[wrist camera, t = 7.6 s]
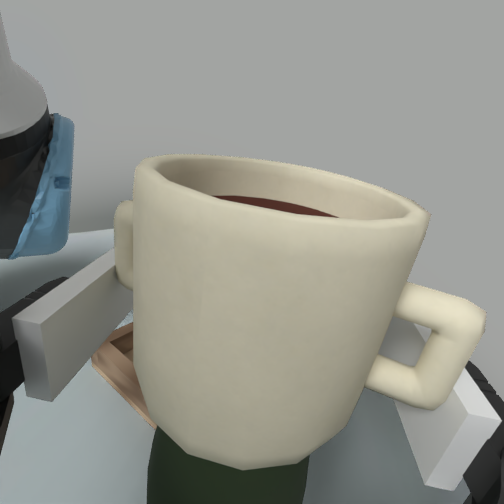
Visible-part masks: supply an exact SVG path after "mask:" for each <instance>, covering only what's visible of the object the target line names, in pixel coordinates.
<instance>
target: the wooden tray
mask: <svg viewBox="0 0 504 504" xmlns="http://www.w3.org/2000/svg"><path fill="white" fill-rule="evenodd" d="M91 360H92V366H93V367H94V368H95V369H96V370H97V371H98V372H99V373H100V374H101V375H102V377H103V378H104V379H105V380H106V381H107V382H108V383H109V384H110V385H111V386H112V387H113V388H114V389H115V390H116V391H117V392H118V393H119V394H120V395H121V396H122V397H123V398H124V399H125V400H126V401H127V402H128V403H129V404H130V405H131V406H132V407H133V408H134V409H135V410H136V411H137V412H138V413H139V414H140V415H141V416H142V417H143V418H144V419H145V420H146V421H147V422H148V423H149V424H150V425H151V426H152V427H153V428H154V429H155V430H156V428H157V424H156V423H155V422H154V421H153V420H152V419H151V418H150V415H149V412H148V409H147V406H146V402H145V399H144V396H143V393H142V390H141V387H140V384H139V381H138V378H137V375H136V371H135V368H134V365H133V322H132V323H129V324H127V325H125V326H123V327H121V328H119V329H116V330H114V331H113V332H112V333H111V334H110V335H109V337H108V338H107V339H106V340H105V341H104V342H103V344H102V345H101V346H100V347H99V348H98V349H97V350H96V352H95V353H94V354H93V355H92V356H91Z"/></svg>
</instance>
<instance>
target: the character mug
mask: <svg viewBox="0 0 504 504" xmlns="http://www.w3.org/2000/svg"><path fill="white" fill-rule="evenodd" d="M430 217H431V214H430V213H429V212H428V211H426V210H425V209H424V208H422V207H421V206H420V205H418V204H417V203H416V202H414V201H413V200H410V199H408V198H406V197H403V196H401V195H399V194H396V193H394V192H392V191H389V190H387V189H384V188H381V187H378V186H375V185H372V184H369V183H366V182H363V181H360V180H356V179H353V178H350V177H347V176H343V175H339V174H335V173H331V172H327V171H323V170H319V169H314V168H310V167H305V166H299V165H294V164H288V163H281V162H275V161H268V160H260V159H252V158H244V157H231V156H216V155H204V154H167V155H161V156H156V157H150V158H144V159H143V160H142V161H141V163H140V164H139V165H138V166H137V167H136V168H135V178H134V188H133V200H129V201H122V202H121V203H120V204H119V206H118V207H117V209H116V213H115V216H114V246H115V272H116V275H117V279H118V282H119V283H120V284H122V285H123V286H124V287H125V288H127V289H129V290H131V291H133V365H134V368H135V371H136V375H137V378H138V381H139V384H140V387H141V390H142V393H143V396H144V399H145V402H146V406H147V409H148V412H149V415H150V418H151V419H152V420H153V421H154V422H155V423H156V424H157V428H156V431H155V435H154V439H153V444H152V449H151V455H150V460H149V466H148V479H147V504H302V502H303V497H304V492H305V487H306V479H307V471H308V463H309V455H310V454H311V453H312V452H314V451H315V450H316V449H318V448H319V447H321V446H322V445H323V444H325V443H326V442H328V441H329V440H330V439H332V438H333V437H334V436H335V435H336V434H338V433H339V432H340V431H341V430H342V429H343V428H345V427H346V426H347V423H348V421H349V419H350V417H351V415H352V413H353V410H354V408H355V406H356V404H357V402H358V400H359V397H360V395H361V393H362V391H363V388H364V387H366V388H368V389H370V390H373V391H375V392H378V393H380V394H383V395H385V396H387V397H390V398H392V399H395V400H397V401H400V402H402V403H404V404H407V405H409V406H412V407H414V408H420V409H426V410H432V411H433V410H435V409H436V408H437V407H439V406H440V405H441V404H443V403H444V402H445V401H446V400H447V398H448V396H449V394H450V392H451V391H452V389H453V387H454V385H455V384H456V382H457V380H458V378H459V376H460V375H461V373H462V371H463V369H464V368H465V366H466V364H467V362H468V360H469V359H470V357H471V355H472V353H473V351H474V350H475V348H476V346H477V344H478V342H479V341H480V339H481V337H482V335H483V333H484V332H485V323H486V311H484V310H482V309H481V308H479V307H478V306H476V305H475V304H473V303H472V302H470V301H469V300H467V299H464V298H460V297H457V296H454V295H450V294H447V293H443V292H440V291H437V290H433V289H430V288H427V287H423V286H420V285H417V284H413V283H410V282H407V279H408V277H409V274H410V272H411V269H412V267H413V264H414V262H415V259H416V257H417V254H418V251H419V249H420V247H421V245H422V242H423V240H424V237H425V234H426V230H427V227H428V224H429V220H430ZM393 316H394V317H397V318H400V319H403V320H406V321H409V322H412V323H415V324H418V325H421V326H424V327H427V328H430V329H431V334H430V336H429V338H428V340H427V342H426V345H425V347H424V349H423V351H422V353H421V355H420V357H419V359H418V361H417V363H416V366H409V365H406V364H403V363H401V362H398V361H396V360H393V359H390V358H388V357H385V356H382V355H380V354H378V352H379V349H380V347H381V344H382V342H383V339H384V337H385V334H386V332H387V329H388V327H389V324H390V322H391V319H392V317H393Z"/></svg>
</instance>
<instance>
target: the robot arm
mask: <svg viewBox="0 0 504 504" xmlns="http://www.w3.org/2000/svg"><path fill="white" fill-rule="evenodd" d="M73 147H74V123H73V122H72V121H71V120H70V119H68V118H66V117H63V116H61V115H59V114H58V113H54V114H49V111H48V105H47V99H46V96H45V92H44V90H43V87H42V86H41V85H40V83H39V82H38V81H37V80H36V79H35V78H34V77H33V76H32V75H30V74H29V73H28V72H26V71H25V70H24V69H22V68H21V67H20V66H19V65H17V64H16V63H15V62H13V61H12V59H11V56H10V52H9V48H8V43H7V39H6V35H5V31H4V27H3V22H2V18H1V14H0V259H16V258H18V257H24V256H36V255H48V254H52V253H55V252H57V251H59V250H61V249H62V248H63V247H64V246H65V244H66V242H67V240H68V233H69V218H70V202H71V185H72V165H73ZM132 309H133V291H131V290H129V289H127V288H125V287H124V286H123V285H122V284H120V283H119V282H118V279H117V275H116V272H115V247H113V248H112V249H111V250H109V251H108V252H106V253H105V254H103V255H102V256H100V257H99V258H98V259H96V260H95V261H93V262H92V263H90V264H89V265H87V266H86V267H85V268H83V269H82V270H80V271H79V272H77V273H76V274H74V275H73V276H72V277H70V278H67V277H61V278H59V279H56V280H53V281H50V282H48V283H46V284H44V285H43V286H41V287H40V288H38V289H37V290H35V292H32V293H31V294H29V295H28V296H26V297H25V299H21V300H20V301H18V302H17V303H15V304H14V305H12V306H11V307H9V308H7V309H6V310H4V311H3V312H1V313H0V454H1V450H2V447H3V443H4V439H5V435H6V431H7V428H8V424H9V420H10V416H11V412H12V409H13V405H14V396H13V391H14V390H15V389H16V388H18V387H19V386H20V385H21V384H22V383H23V382H24V384H25V390H26V395H27V397H32V398H36V399H41V400H45V401H50V402H52V401H53V400H54V399H55V398H56V397H57V396H58V394H59V393H60V392H61V391H62V390H63V389H64V388H65V386H66V385H67V384H68V383H69V382H70V381H71V379H72V378H73V377H74V376H75V375H76V374H77V372H78V371H79V370H80V369H81V368H82V367H83V366H84V364H85V363H86V362H87V361H88V360H89V359H90V357H91V356H92V355H93V354H94V353H95V352H96V350H97V349H98V348H99V347H100V346H101V345H102V344H103V342H104V341H105V340H106V339H107V338H108V337H109V335H110V334H111V333H112V332H113V331H114V330H115V328H116V327H117V326H118V325H119V324H120V323H121V322H122V320H123V319H124V318H125V317H126V316H127V315H128V313H129V312H130V311H131V310H132ZM430 334H431V329H430V328H427V327H424V326H421V325H418V324H415V323H412V322H409V321H406V320H403V319H400V318H397V317H394V316H393V317H392V319H391V322H390V324H389V327H388V329H387V332H386V334H385V337H384V339H383V342H382V344H381V347H380V349H379V352H378V354H380V355H382V356H385V357H388V358H390V359H393V360H396V361H398V362H401V363H403V364H406V365H409V366H416V363H417V361H418V359H419V357H420V355H421V353H422V351H423V349H424V347H425V345H426V342H427V340H428V338H429V336H430ZM393 400H394V403H395V405H396V408H397V411H398V414H399V416H400V419H401V422H402V425H403V427H404V430H405V433H406V436H407V438H408V441H409V444H410V446H411V449H412V452H413V455H414V457H415V460H416V463H417V466H418V468H419V471H420V474H421V477H422V479H423V482H424V485H427V486H431V487H436V488H440V489H445V490H449V491H454V490H455V488H456V487H457V485H458V484H459V483H460V481H461V480H462V478H463V477H464V479H465V482H466V484H467V486H468V488H469V490H470V492H471V493H470V495H469V496H468V497H467V499H466V500H465V502H464V503H463V504H504V402H503V401H502V399H501V398H500V397H499V395H496V391H495V390H494V389H493V387H492V386H491V385H490V384H488V381H487V379H486V378H485V377H484V375H483V374H482V373H481V371H480V370H479V369H478V368H477V367H476V366H475V365H474V364H472V363H471V362H470V361H469V360H468V362H467V364H466V366H465V368H464V369H463V371H462V373H461V375H460V376H459V378H458V380H457V382H456V384H455V385H454V387H453V389H452V391H451V392H450V394H449V396H448V398H447V400H446V401H445V402H444V403H443V404H441V405H440V406H439V407H437V408H436V409H435V410H433V411H432V410H426V409H420V408H414V407H412V406H409V405H407V404H404V403H402V402H400V401H397V400H395V399H393Z"/></svg>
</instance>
